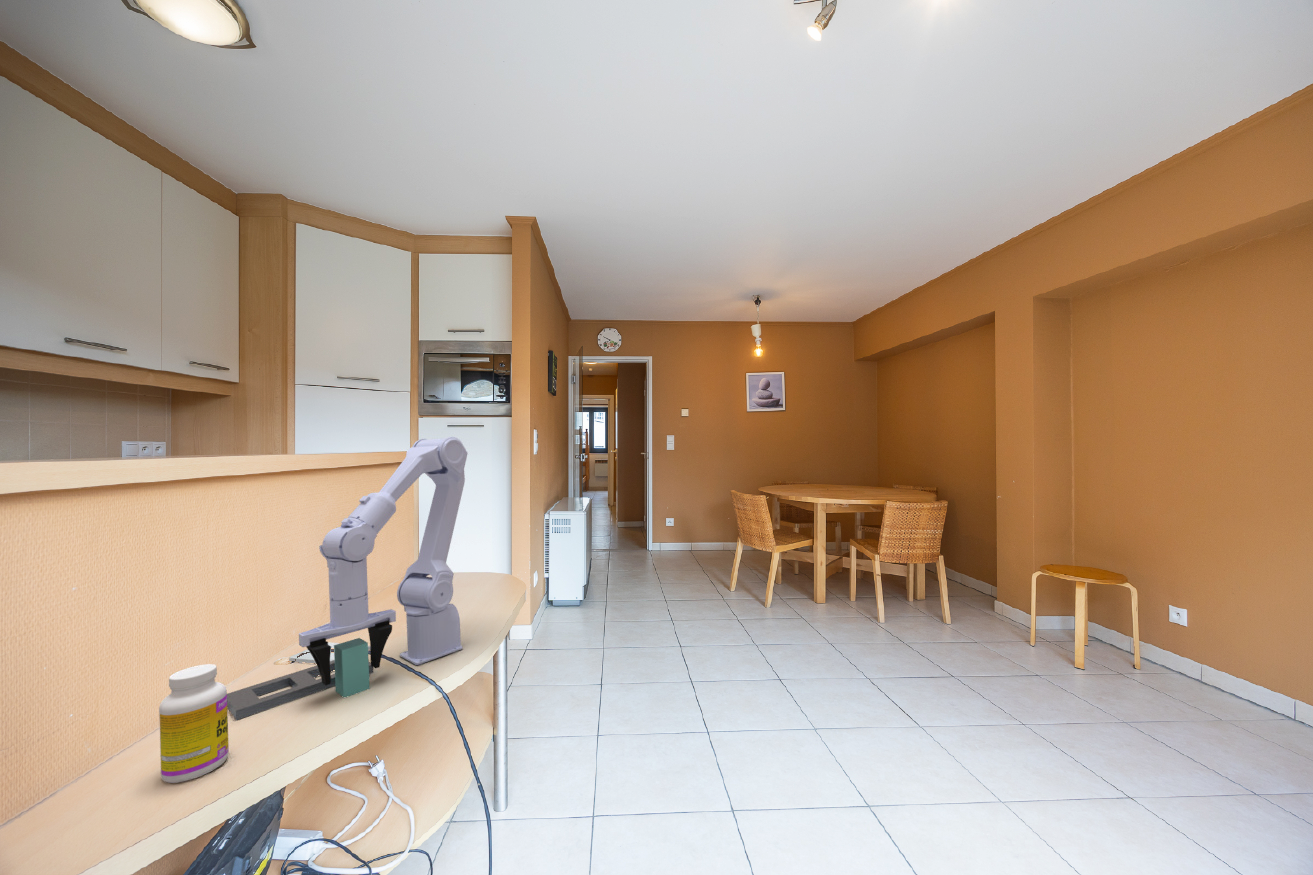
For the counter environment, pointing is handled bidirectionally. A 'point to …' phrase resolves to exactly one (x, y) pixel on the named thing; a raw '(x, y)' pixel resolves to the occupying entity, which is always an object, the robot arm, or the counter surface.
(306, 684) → the steel rail
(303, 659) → the hard drive
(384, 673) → the counter surface
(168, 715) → the supplement bottle
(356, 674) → the teal peg
